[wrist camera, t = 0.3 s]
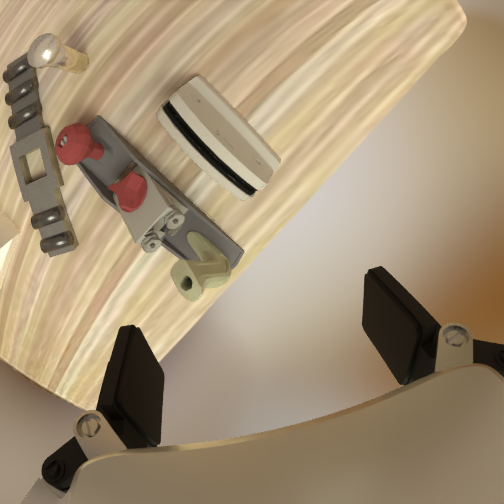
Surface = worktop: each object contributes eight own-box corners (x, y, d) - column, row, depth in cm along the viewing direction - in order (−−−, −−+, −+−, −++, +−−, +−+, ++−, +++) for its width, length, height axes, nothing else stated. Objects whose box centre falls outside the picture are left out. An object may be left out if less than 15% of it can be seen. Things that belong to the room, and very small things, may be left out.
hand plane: (214, 282, 45) (220, 349, 32) (65, 148, 33) (4, 168, 19) (247, 253, 44) (266, 314, 31) (94, 109, 31) (39, 109, 18)
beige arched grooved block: (282, 161, 38) (280, 193, 31) (256, 180, 41) (247, 216, 33) (198, 72, 32) (169, 80, 24) (174, 96, 34) (141, 112, 26)
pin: (66, 57, 27) (26, 43, 17) (90, 46, 27) (55, 27, 17) (69, 81, 28) (28, 73, 19) (93, 70, 29) (57, 57, 19)
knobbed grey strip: (6, 69, 24) (-5, 67, 21) (39, 48, 25) (29, 45, 22) (50, 253, 38) (42, 261, 36) (83, 243, 39) (76, 252, 36)
